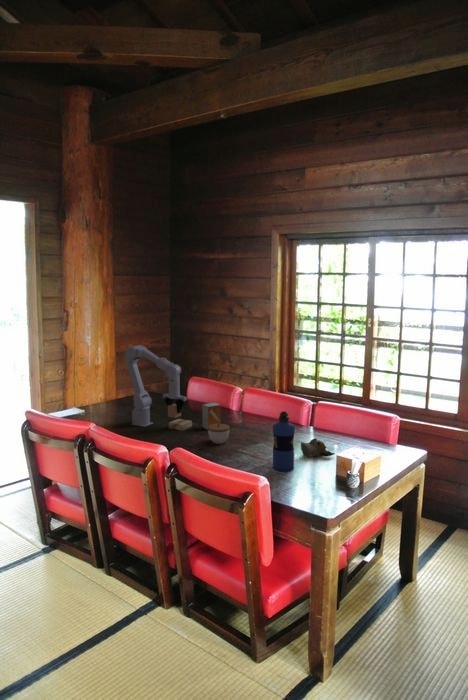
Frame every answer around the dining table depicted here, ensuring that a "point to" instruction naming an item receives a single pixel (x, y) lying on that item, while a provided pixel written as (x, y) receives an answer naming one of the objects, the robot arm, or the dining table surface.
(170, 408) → the terracotta block
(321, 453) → the ceramic sculpture
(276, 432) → the water bottle
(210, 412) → the small box
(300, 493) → the dining table surface
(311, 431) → the dining table surface
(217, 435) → the lidded jar
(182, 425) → the maple base block
